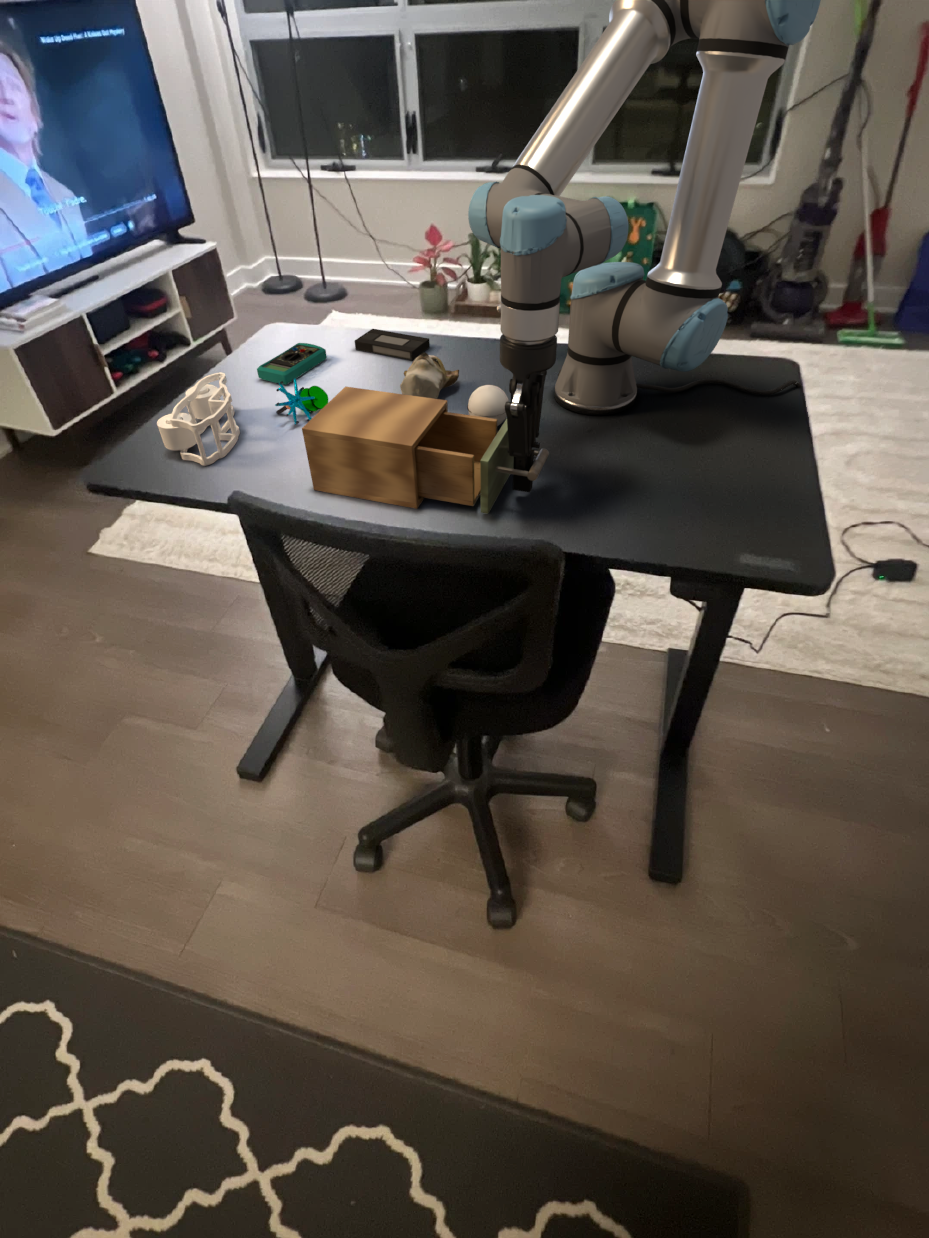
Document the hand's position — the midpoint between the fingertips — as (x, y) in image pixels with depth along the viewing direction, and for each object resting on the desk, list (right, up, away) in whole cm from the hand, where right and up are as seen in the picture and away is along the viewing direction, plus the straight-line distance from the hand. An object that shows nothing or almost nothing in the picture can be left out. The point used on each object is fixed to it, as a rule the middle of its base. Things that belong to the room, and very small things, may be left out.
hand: (522, 488), depth 109 cm
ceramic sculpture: (-16, +23, +28) cm, 40 cm away
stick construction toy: (-40, +18, +24) cm, 50 cm away
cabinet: (-22, +3, +7) cm, 24 cm away
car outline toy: (-54, +13, +18) cm, 59 cm away
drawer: (-8, +1, +3) cm, 9 cm away
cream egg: (-5, +14, +18) cm, 23 cm away
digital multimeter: (-44, +31, +38) cm, 66 cm away
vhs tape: (-25, +38, +45) cm, 64 cm away
